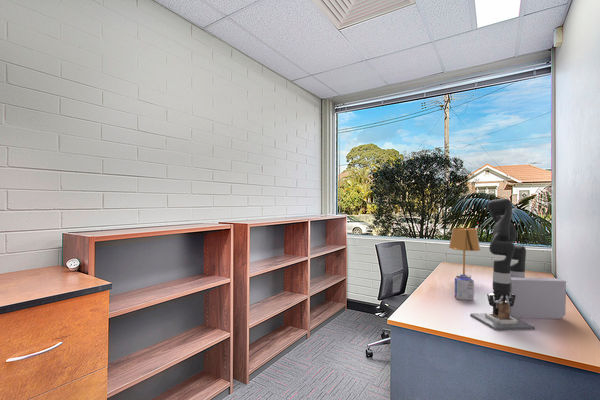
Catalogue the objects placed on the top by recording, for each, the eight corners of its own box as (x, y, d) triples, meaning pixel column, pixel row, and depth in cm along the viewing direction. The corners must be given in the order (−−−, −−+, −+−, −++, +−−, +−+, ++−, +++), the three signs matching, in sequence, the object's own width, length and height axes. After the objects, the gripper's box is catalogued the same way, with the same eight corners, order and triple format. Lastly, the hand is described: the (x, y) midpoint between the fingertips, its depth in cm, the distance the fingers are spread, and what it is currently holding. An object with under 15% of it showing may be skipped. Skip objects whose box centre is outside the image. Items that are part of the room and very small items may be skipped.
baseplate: (505, 314, 160) (505, 309, 160) (534, 329, 142) (535, 323, 142) (470, 315, 158) (470, 310, 158) (496, 330, 140) (496, 324, 140)
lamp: (480, 281, 227) (481, 228, 227) (479, 288, 209) (480, 230, 209) (449, 277, 238) (450, 226, 238) (446, 283, 221) (447, 228, 221)
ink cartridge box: (470, 297, 188) (471, 274, 188) (474, 300, 183) (474, 277, 183) (454, 296, 190) (454, 273, 190) (456, 299, 185) (457, 275, 185)
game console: (504, 313, 162) (505, 276, 162) (556, 314, 161) (556, 278, 162) (512, 317, 157) (512, 279, 157) (565, 319, 156) (565, 281, 156)
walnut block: (501, 315, 153) (502, 301, 153) (509, 318, 148) (509, 304, 148) (492, 315, 152) (493, 301, 152) (500, 319, 148) (500, 305, 148)
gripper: (508, 278, 155) (508, 311, 155) (483, 279, 153) (482, 312, 153) (520, 282, 147) (520, 317, 147) (493, 283, 146) (493, 318, 146)
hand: (501, 314), depth 150 cm, fingers closed on walnut block, 5 cm apart
